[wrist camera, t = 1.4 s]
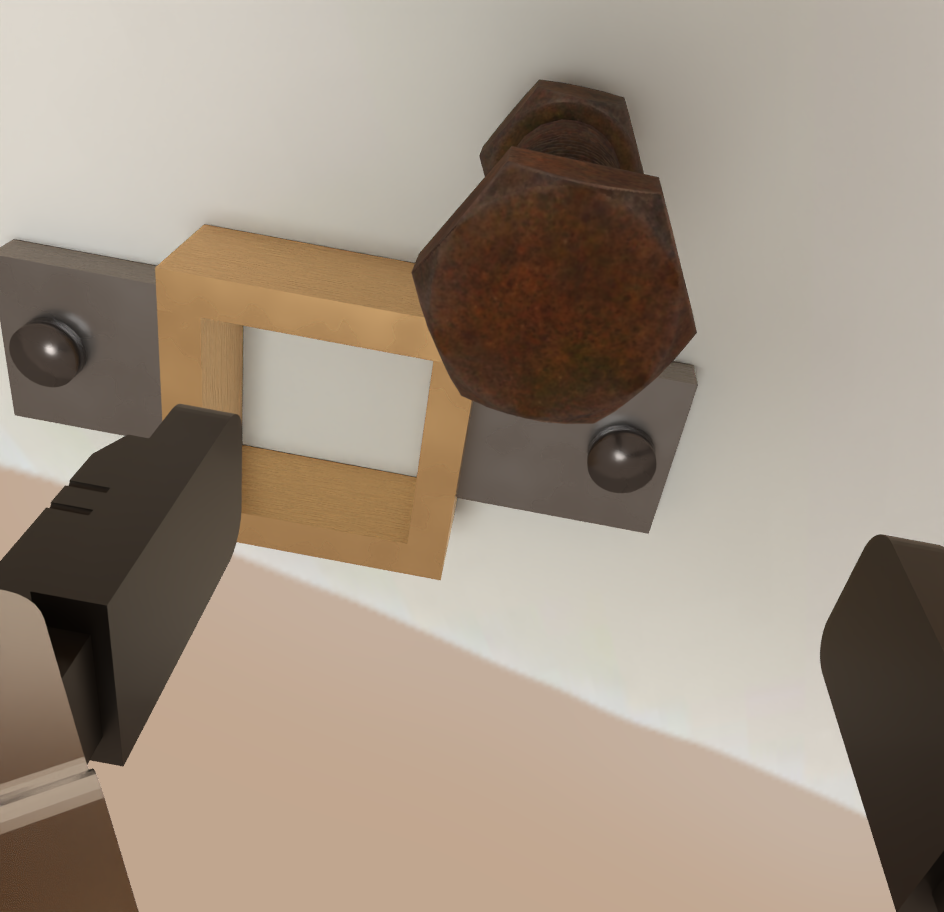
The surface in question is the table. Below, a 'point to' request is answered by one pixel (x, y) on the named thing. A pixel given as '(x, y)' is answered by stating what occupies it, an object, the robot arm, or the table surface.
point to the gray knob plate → (582, 457)
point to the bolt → (557, 266)
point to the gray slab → (81, 338)
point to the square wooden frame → (330, 319)
